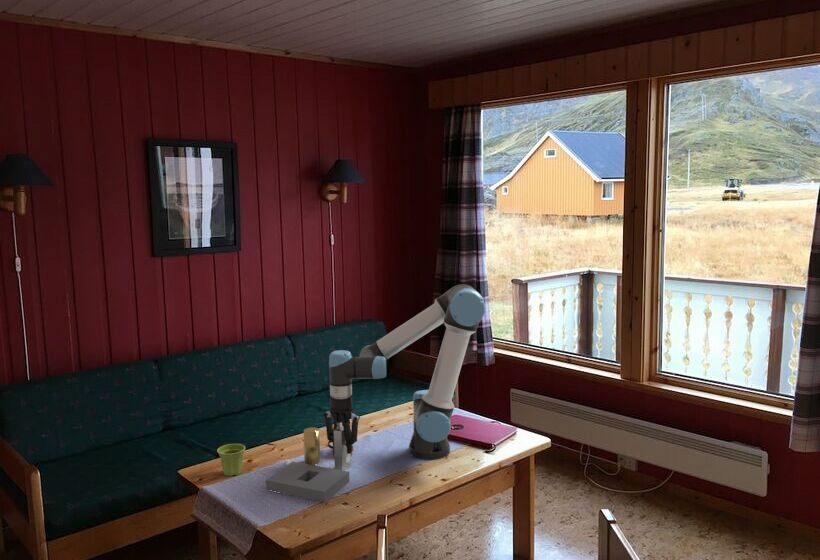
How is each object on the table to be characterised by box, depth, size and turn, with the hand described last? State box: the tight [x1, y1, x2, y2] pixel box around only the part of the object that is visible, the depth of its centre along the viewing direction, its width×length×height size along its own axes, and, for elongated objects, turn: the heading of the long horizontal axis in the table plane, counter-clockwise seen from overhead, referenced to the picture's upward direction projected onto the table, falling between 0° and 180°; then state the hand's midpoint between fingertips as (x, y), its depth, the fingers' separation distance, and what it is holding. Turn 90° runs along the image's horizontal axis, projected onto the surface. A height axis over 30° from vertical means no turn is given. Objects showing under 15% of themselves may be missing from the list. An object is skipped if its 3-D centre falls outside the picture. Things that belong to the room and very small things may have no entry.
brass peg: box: [303, 426, 321, 466], centre depth 243 cm, size 6×6×12 cm
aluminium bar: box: [333, 424, 352, 471], centre depth 236 cm, size 3×6×15 cm, turn 156°
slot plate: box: [265, 461, 350, 503], centre depth 224 cm, size 22×16×4 cm
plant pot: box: [216, 443, 246, 477], centre depth 235 cm, size 9×9×9 cm
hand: (342, 460), depth 237 cm, fingers closed on aluminium bar, 3 cm apart
